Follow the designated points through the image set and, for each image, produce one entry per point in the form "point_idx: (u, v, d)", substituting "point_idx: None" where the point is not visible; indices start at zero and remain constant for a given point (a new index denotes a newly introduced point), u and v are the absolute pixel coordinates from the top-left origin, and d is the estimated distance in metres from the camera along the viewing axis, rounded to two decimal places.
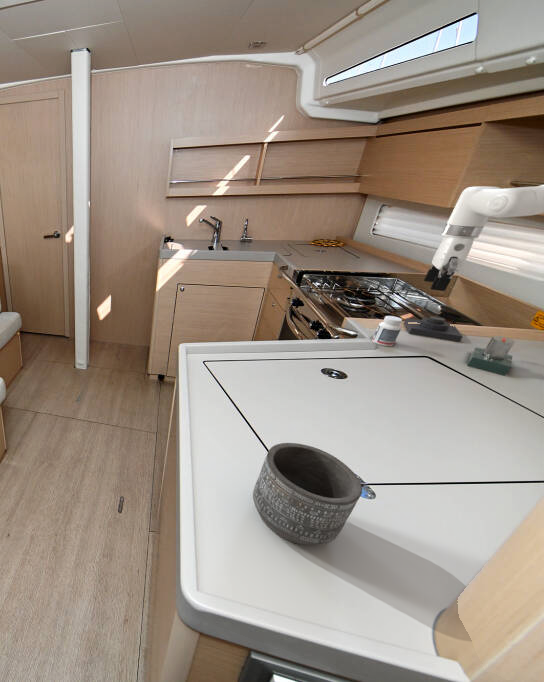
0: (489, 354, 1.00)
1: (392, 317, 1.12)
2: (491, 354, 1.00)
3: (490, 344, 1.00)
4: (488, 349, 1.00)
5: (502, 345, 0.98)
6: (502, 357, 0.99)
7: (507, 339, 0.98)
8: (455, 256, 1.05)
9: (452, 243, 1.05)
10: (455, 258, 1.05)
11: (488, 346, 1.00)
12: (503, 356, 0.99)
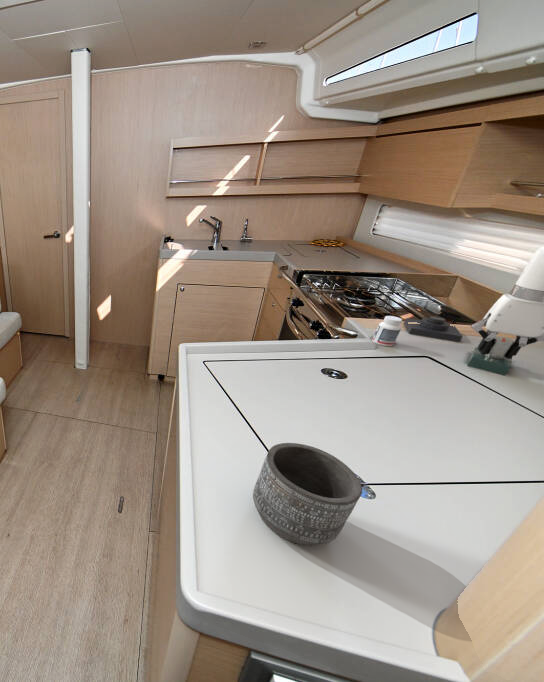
0: (489, 354, 1.00)
1: (392, 317, 1.12)
2: (491, 354, 1.00)
3: None
4: None
5: (502, 345, 0.98)
6: (502, 357, 0.99)
7: (507, 339, 0.98)
8: None
9: None
10: None
11: None
12: (503, 356, 0.99)
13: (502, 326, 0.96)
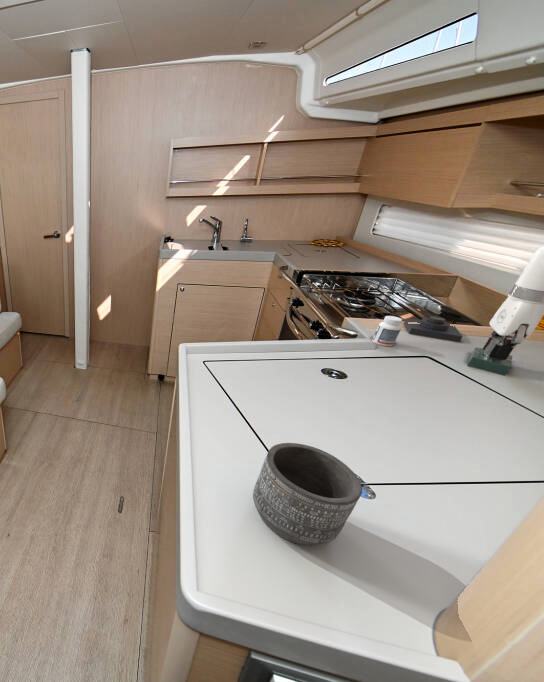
0: None
1: (392, 317, 1.12)
2: None
3: None
4: None
5: None
6: None
7: None
8: None
9: None
10: None
11: None
12: None
13: None
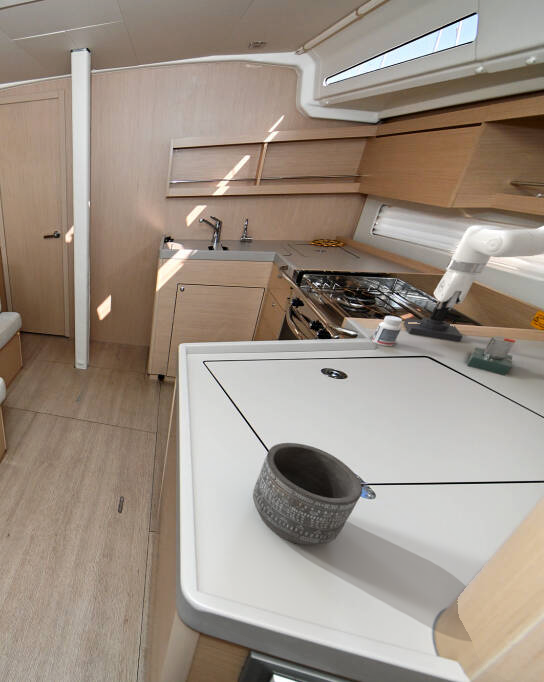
0: (504, 356, 0.99)
1: (392, 317, 1.12)
2: None
3: (505, 348, 0.97)
4: (503, 353, 0.98)
5: None
6: None
7: (501, 338, 0.99)
8: None
9: None
10: None
11: (502, 350, 0.98)
12: None
13: None
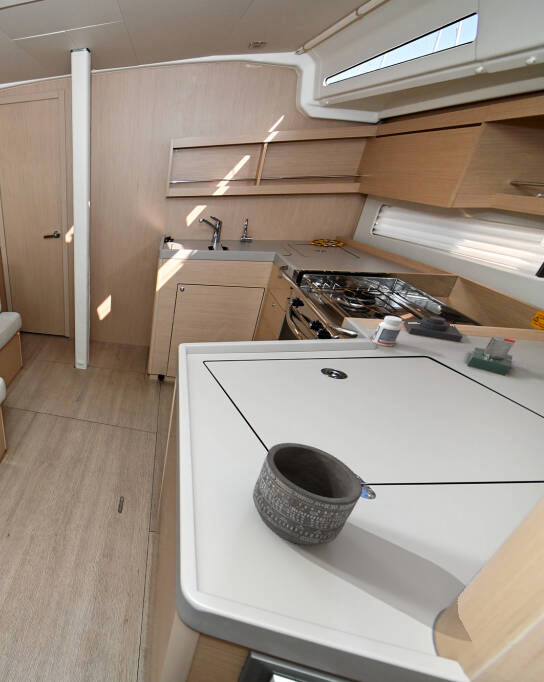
0: (504, 356, 0.99)
1: (392, 317, 1.12)
2: None
3: (505, 348, 0.97)
4: (503, 353, 0.98)
5: None
6: None
7: (501, 338, 0.99)
8: None
9: None
10: None
11: (502, 350, 0.98)
12: None
13: None
